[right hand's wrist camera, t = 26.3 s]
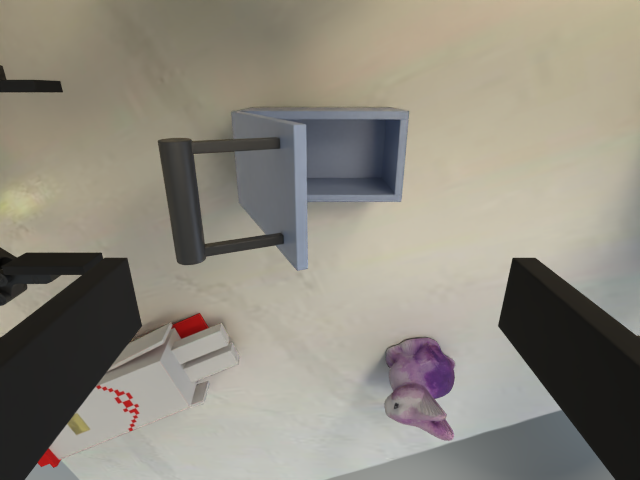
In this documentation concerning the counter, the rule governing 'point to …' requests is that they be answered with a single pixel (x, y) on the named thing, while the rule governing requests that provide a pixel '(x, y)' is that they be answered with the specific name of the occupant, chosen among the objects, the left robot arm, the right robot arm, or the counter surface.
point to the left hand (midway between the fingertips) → (74, 182)
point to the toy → (147, 384)
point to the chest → (350, 151)
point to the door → (244, 188)
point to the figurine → (419, 385)
